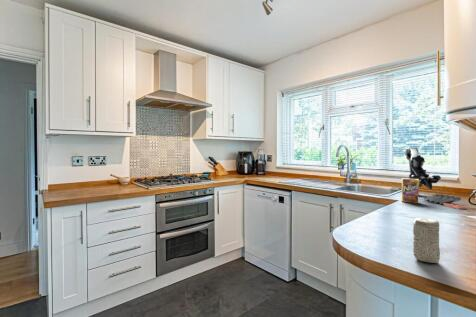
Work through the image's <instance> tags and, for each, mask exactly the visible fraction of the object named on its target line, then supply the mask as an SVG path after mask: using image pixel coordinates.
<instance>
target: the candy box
mask: <svg viewBox="0 0 476 317" xmlns="http://www.w3.org/2000/svg"><path fill="white" fill-rule="evenodd" d="M419 188H420V187H419V179H408V178H401V196H400V197H401V200H400V201H401V202H402V203H413V204H419V195H418V194H419Z"/></svg>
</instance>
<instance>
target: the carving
mask: <svg viewBox="0 0 476 317" xmlns="http://www.w3.org/2000/svg"><path fill="white" fill-rule="evenodd" d="M412 233H413V238H412V239H413V242H412V244H413V245H412V246H413V248H412V249H413V251H412V252H413V256H414V258H415V259H416V260H418V261H420V262H425V263H431V264H438V263H439V262H440V258H441V250H440V222H439V221H437V220H435V219H430V218H423V217H422V218H421V217H417V218H414V221H413V231H412Z"/></svg>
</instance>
